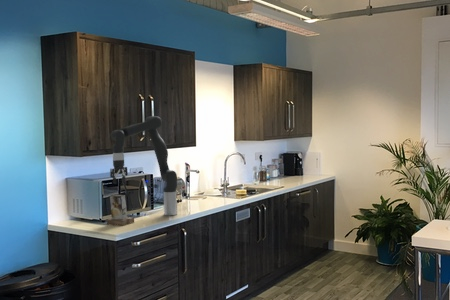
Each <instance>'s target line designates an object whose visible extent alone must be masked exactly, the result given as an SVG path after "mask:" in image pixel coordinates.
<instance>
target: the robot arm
mask: <svg viewBox="0 0 450 300" xmlns="http://www.w3.org/2000/svg"><path fill="white" fill-rule="evenodd" d="M162 122H163V120H162V118H161V117H159V116H156V115H151V116H147V117H146V118H145V121H143V122H139V123H135V124H131V125H128V126H126V127H122V128H118V129H115V130H112V132H111V133H110V138H111V140H113V141H115V143H114V144H113V145H112V166H113V168H110V171H109V173H110V175H109V177H110V178H112V183H113V184H115V185H116V184H117V177H118V175H121V182H122V183H126V177H127V176H128V175H129V174H128V167H127V166H125V154H124V145H125V140H126V138H128V137H132V136H135V135H138V134H140V133H142V132H146V131H147V133H148V135H149V138H150V140H151V143H152V147H153V150H154V154H155V157H156V160H157V165H158V168H159V173H160V178H161V180H162V181H163V183H164V182H165V183H166V185H165V187H164V188H163V212H164V216H177V214H178V200H177V188H178V187H177V186H178V174H177V173H176V171H175V170H172V169H170V168H169V164H168V158H169V152H168V148H167V145H166V144H167V143H166V142H165V141H164V139H163V138H162V137H161V135H160V133H159V132H158V129H159V128H160V127H161V126H162V124H163V123H162Z"/></svg>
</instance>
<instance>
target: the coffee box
mask: <svg viewBox="0 0 450 300" xmlns="http://www.w3.org/2000/svg"><path fill="white" fill-rule="evenodd" d="M109 198H110V199H109V200H110V212H111V218H112V219H122V220H123V219H125V218H127V217H128V212H127V211H128V210H127V208H128V207H127V199H126V198H127V196H126V194H112V195H111V196H109Z"/></svg>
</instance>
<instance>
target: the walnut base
mask: <svg viewBox="0 0 450 300" xmlns="http://www.w3.org/2000/svg"><path fill="white" fill-rule="evenodd" d="M109 224H110V225H112V226H119V227H123V226H126V225H130V224H135V217H130V216H129V217H128V216H127V218H125V219H123V220H122V219H112V217H110V218H107V219H106V225H109Z"/></svg>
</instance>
